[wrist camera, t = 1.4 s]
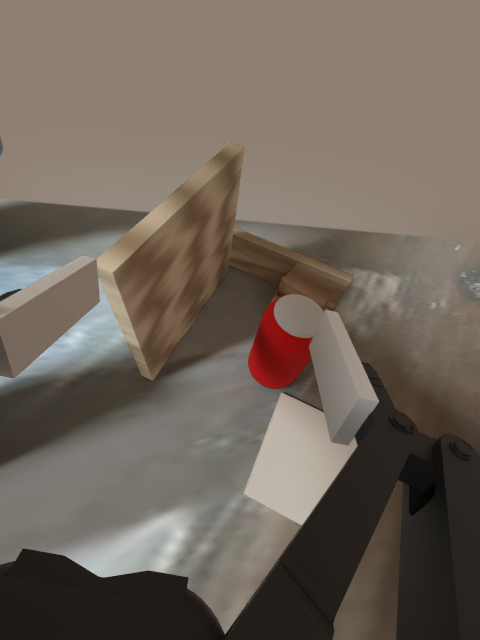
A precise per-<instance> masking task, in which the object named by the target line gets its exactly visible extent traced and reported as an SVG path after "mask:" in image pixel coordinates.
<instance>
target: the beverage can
mask: <svg viewBox="0 0 480 640" xmlns="http://www.w3.org/2000/svg"><path fill="white" fill-rule="evenodd" d="M323 313H324V311H323V309H322V308H321V306H320V305H319V304H318V303H317V302H315V301H314V300H313V299H311V298H309V297H307V296H304V295H301V294H288V295H285V296H282V297H280V298H277V299H276V300H274V301H273V302H271V303H270V304H269V305H268V307H267V308H266V310H265V312H264V314H263V317H262V320H261V323H260V326H259V329H258V331H257V334H256V337H255V340H254V343H253V346H252V349H251V351H250V354H249V358H248V366H249V370H250V372H251V374H252V376H253V377H254V379H255V380H256V381H257V382H259V383H260V384H261V385H263V386H265V387H268V388H272V389H280V388H284V387H287V386H288V385H290V384H291V383H292V382H293V381H294V380H295V379H296V377H297V376H298V375H299V374H300V372H301V371H302V370H303V369H304V367H305V366H306V365H307V363H308V362H309V361H310V360H311V353H310V349H309V346H310V343H311V341H312V339H313V336H314V334H315V332H316V329H317V327H318V325H319V322H320V320H321V318H322V316H323Z"/></svg>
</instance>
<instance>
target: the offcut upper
mask: <svg viewBox="0 0 480 640" xmlns="http://www.w3.org/2000/svg"><path fill="white" fill-rule="evenodd" d="M336 288H337V287H336V286H334V285H333V284H331V283H329V282H328V281H326V280H324V279H323V278H321V277H319V276H318V275H316V274H314V273H313V272H311V271H309V270H308V269H306V268H304V267H303V266H301V265H299V264H298V263H297V264H296V265H295V266H294V267H293V268H292V269H291V270H290V272H289V273H288V274H287V275H286V276H285V277H284V278H283V279H282V280H281V283H280V285H279V288H278V291H277V294H276V295H277V296H279V297H282V296H285V295H288V294H301V295H304V296H307V297H309V298H311V299H313V300H314V301H315V302H317V303H318V304H319V305H320V306H321V308H322V309H323V307H324V306H325V305H326V303H327V302H328V301H329V299H330V297H331V296H332V294H333V293H334V291H335V290H336Z"/></svg>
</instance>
